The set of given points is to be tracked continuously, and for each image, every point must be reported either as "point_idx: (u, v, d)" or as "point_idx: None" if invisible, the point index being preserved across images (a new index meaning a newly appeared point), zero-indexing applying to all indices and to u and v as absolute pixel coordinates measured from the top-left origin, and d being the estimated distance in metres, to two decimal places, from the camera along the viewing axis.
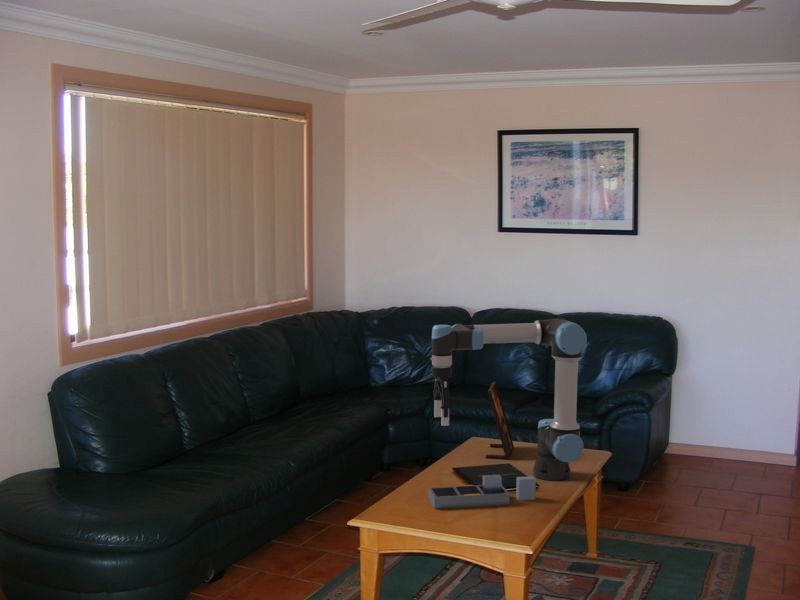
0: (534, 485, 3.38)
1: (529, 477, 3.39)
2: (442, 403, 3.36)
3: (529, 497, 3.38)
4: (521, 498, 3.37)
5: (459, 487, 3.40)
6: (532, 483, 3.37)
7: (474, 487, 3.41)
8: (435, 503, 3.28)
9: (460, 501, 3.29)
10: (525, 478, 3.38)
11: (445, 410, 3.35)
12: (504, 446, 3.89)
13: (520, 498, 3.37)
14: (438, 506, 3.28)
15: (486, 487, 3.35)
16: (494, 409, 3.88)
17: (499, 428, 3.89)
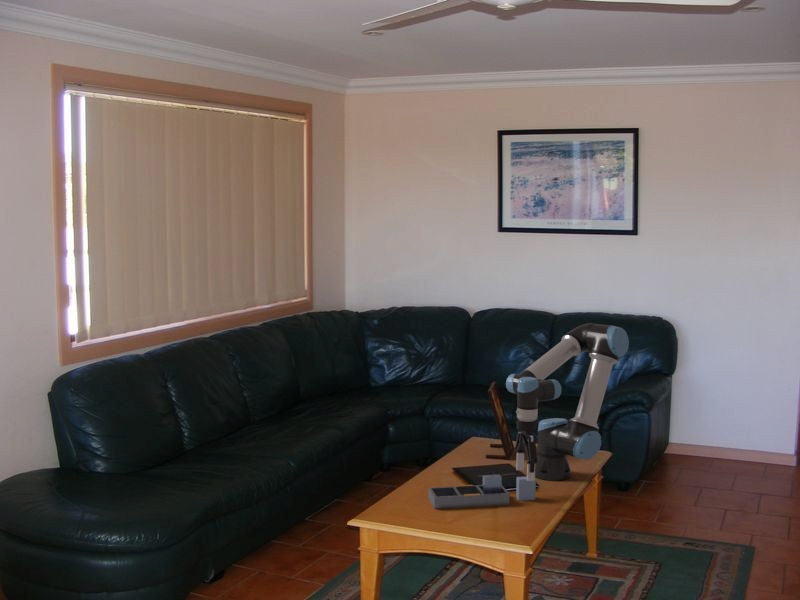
0: (534, 485, 3.38)
1: None
2: (528, 458, 3.30)
3: (529, 497, 3.38)
4: (521, 498, 3.37)
5: (459, 487, 3.40)
6: (532, 483, 3.37)
7: (474, 487, 3.41)
8: (435, 503, 3.28)
9: (460, 501, 3.29)
10: (525, 478, 3.38)
11: (531, 465, 3.29)
12: (504, 446, 3.89)
13: (520, 498, 3.37)
14: (438, 506, 3.28)
15: (486, 487, 3.35)
16: (494, 409, 3.88)
17: (499, 428, 3.89)
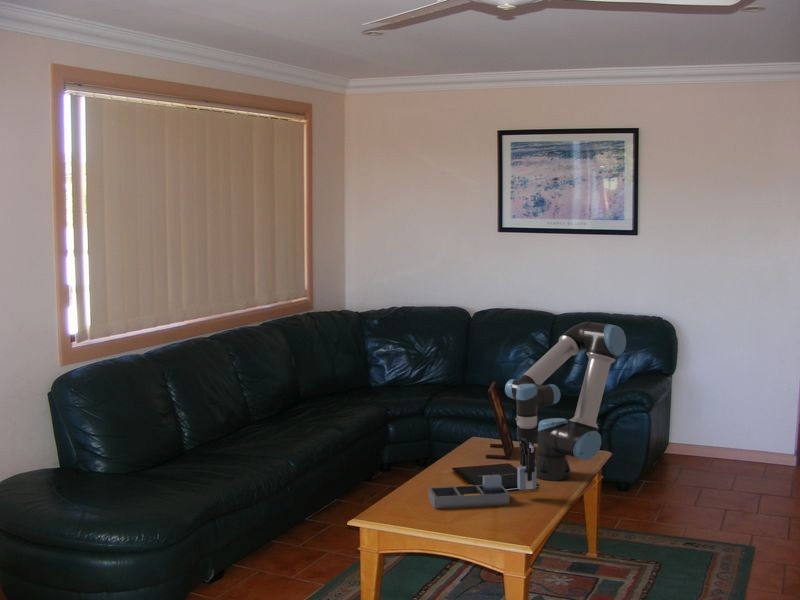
0: (535, 474, 3.38)
1: None
2: (526, 467, 3.35)
3: None
4: (522, 487, 3.37)
5: (459, 487, 3.40)
6: (533, 473, 3.37)
7: (474, 487, 3.41)
8: (435, 503, 3.28)
9: (460, 501, 3.29)
10: None
11: (529, 474, 3.35)
12: (504, 446, 3.89)
13: (521, 487, 3.37)
14: (438, 506, 3.28)
15: (486, 487, 3.35)
16: (494, 409, 3.88)
17: (499, 428, 3.89)
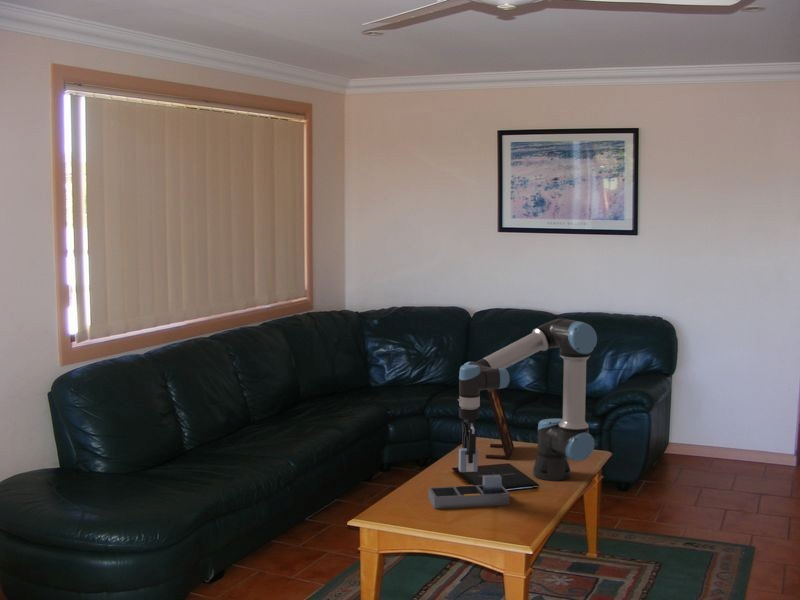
0: (476, 456, 3.33)
1: None
2: (467, 449, 3.30)
3: None
4: (463, 470, 3.32)
5: (459, 487, 3.40)
6: (474, 455, 3.33)
7: (474, 487, 3.41)
8: (435, 503, 3.28)
9: (460, 501, 3.29)
10: None
11: (470, 456, 3.30)
12: (504, 446, 3.89)
13: (462, 470, 3.32)
14: (438, 506, 3.28)
15: (486, 487, 3.35)
16: (494, 409, 3.88)
17: (499, 428, 3.89)
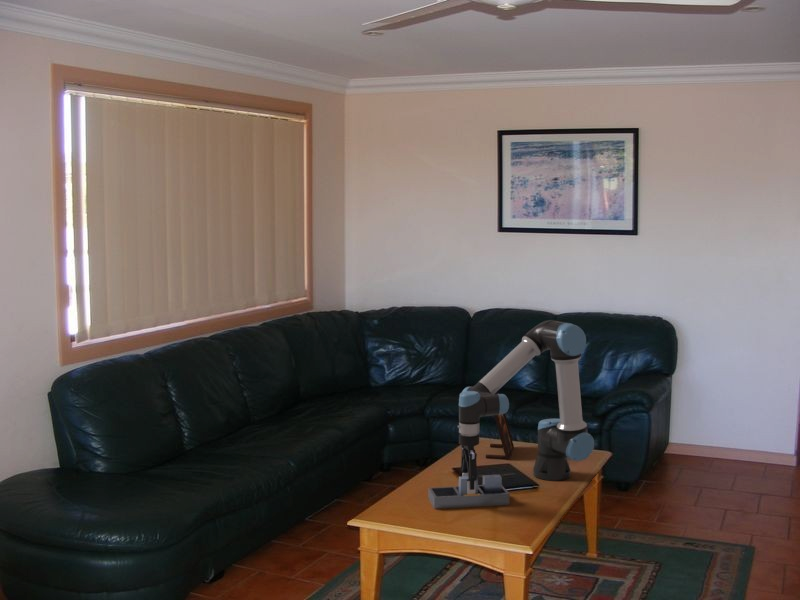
0: (476, 484, 3.34)
1: None
2: (468, 475, 3.29)
3: None
4: None
5: None
6: None
7: None
8: (435, 503, 3.28)
9: (460, 501, 3.29)
10: (467, 478, 3.34)
11: (471, 482, 3.29)
12: (504, 446, 3.89)
13: None
14: (438, 506, 3.28)
15: (486, 487, 3.35)
16: None
17: (499, 428, 3.89)
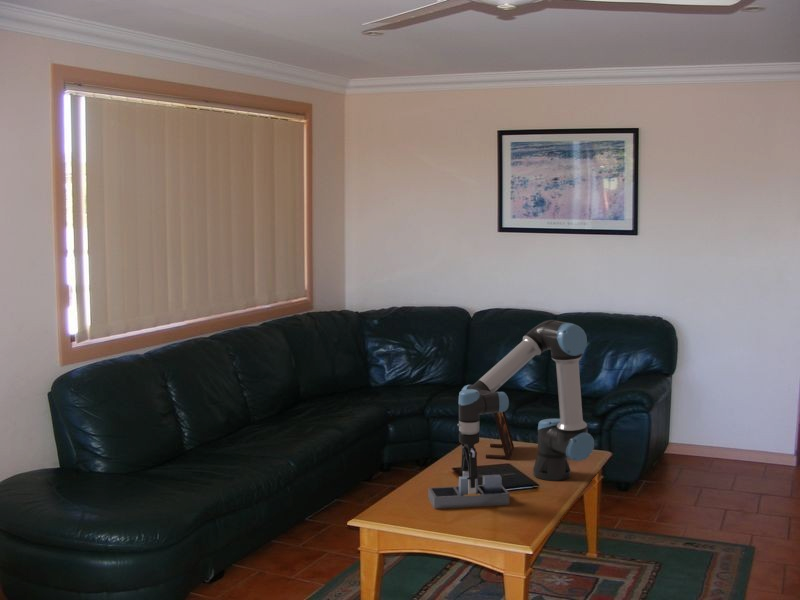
0: (476, 484, 3.34)
1: None
2: (469, 473, 3.29)
3: None
4: None
5: None
6: None
7: None
8: (435, 503, 3.28)
9: (460, 501, 3.29)
10: None
11: (472, 480, 3.29)
12: (504, 446, 3.89)
13: None
14: (438, 506, 3.28)
15: (486, 487, 3.35)
16: None
17: (499, 428, 3.89)
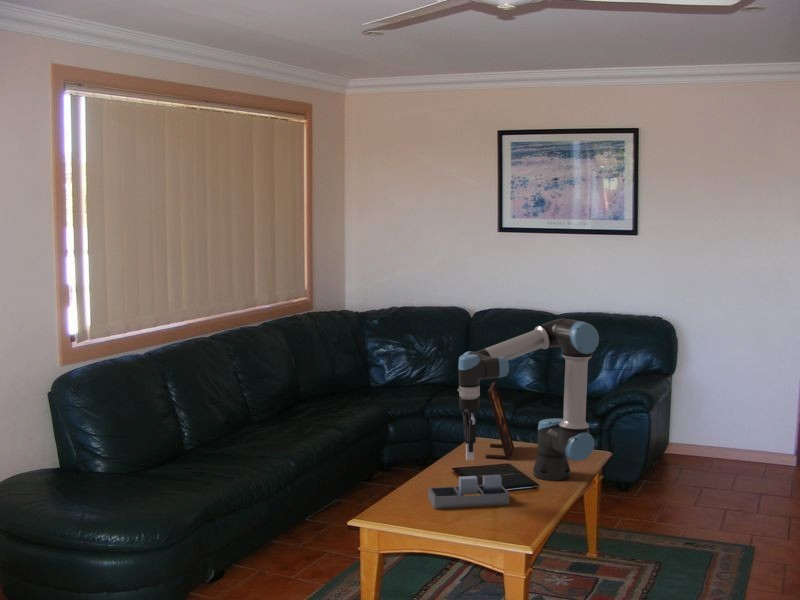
0: (476, 484, 3.34)
1: (471, 477, 3.35)
2: (467, 438, 3.31)
3: None
4: None
5: None
6: (474, 483, 3.34)
7: None
8: (435, 503, 3.28)
9: (460, 501, 3.29)
10: (467, 478, 3.34)
11: (470, 445, 3.32)
12: (504, 446, 3.89)
13: None
14: (438, 506, 3.28)
15: (486, 487, 3.35)
16: (494, 409, 3.88)
17: (499, 428, 3.89)
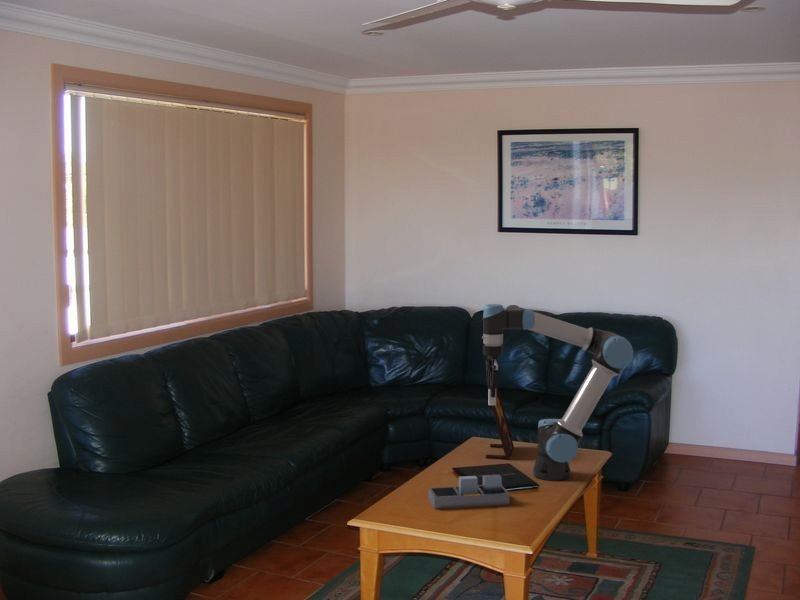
0: (476, 484, 3.34)
1: (471, 477, 3.35)
2: (490, 384, 3.47)
3: None
4: None
5: None
6: (474, 483, 3.34)
7: None
8: (435, 503, 3.28)
9: (460, 501, 3.29)
10: (467, 478, 3.34)
11: (493, 390, 3.48)
12: (504, 446, 3.89)
13: None
14: (438, 506, 3.28)
15: (486, 487, 3.35)
16: (494, 409, 3.88)
17: (499, 428, 3.89)
